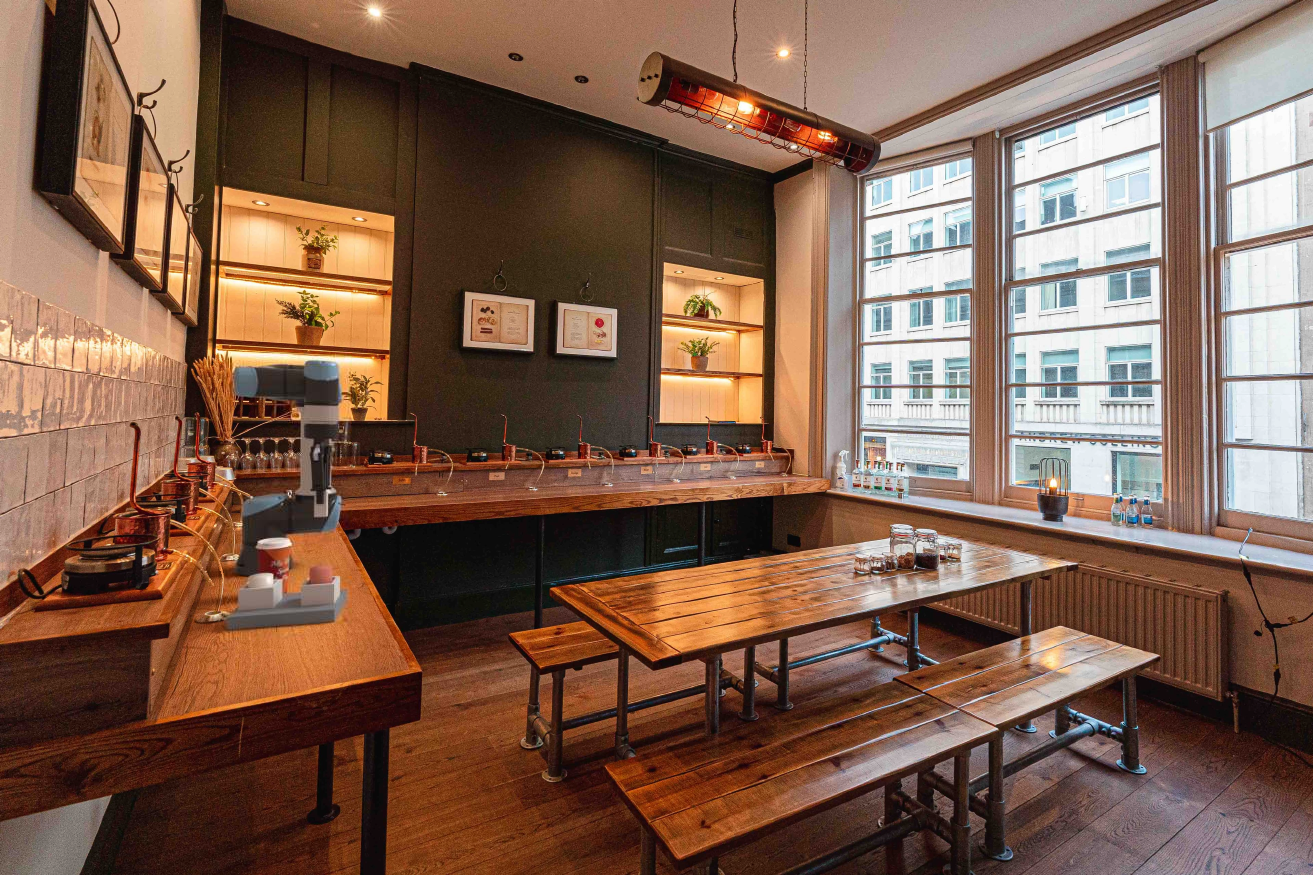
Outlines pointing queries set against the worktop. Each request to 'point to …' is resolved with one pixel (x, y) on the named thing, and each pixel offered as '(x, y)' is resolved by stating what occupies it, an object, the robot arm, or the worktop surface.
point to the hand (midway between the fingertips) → (321, 516)
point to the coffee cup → (275, 558)
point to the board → (287, 605)
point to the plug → (260, 580)
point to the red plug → (321, 574)
